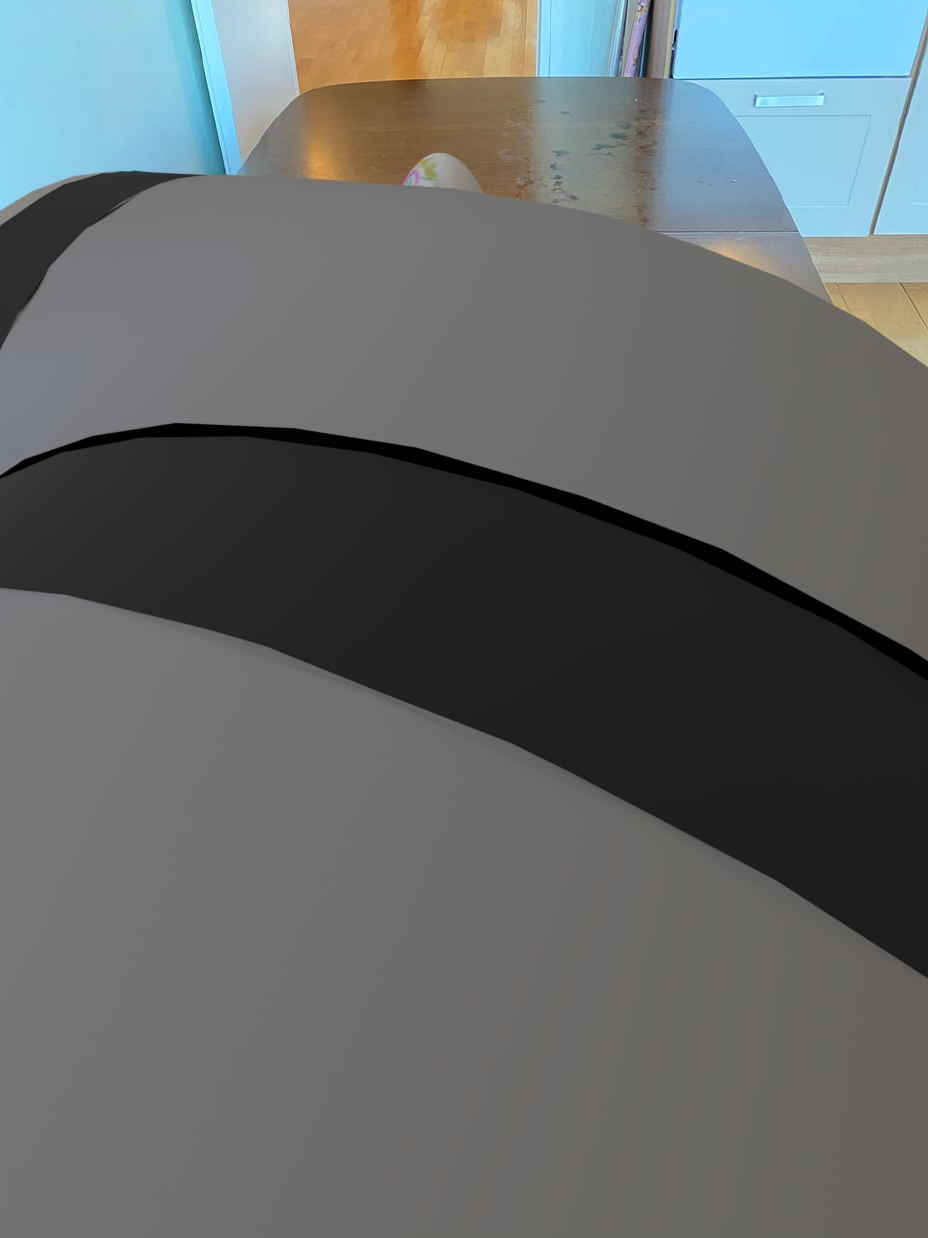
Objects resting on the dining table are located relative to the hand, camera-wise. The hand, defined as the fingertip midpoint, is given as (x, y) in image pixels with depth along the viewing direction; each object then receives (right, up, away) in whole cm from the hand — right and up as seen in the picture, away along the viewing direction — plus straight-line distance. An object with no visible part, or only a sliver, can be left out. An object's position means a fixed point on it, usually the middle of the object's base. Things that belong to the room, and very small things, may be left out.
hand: (254, 529), depth 35 cm
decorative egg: (+5, +41, +89) cm, 98 cm away
